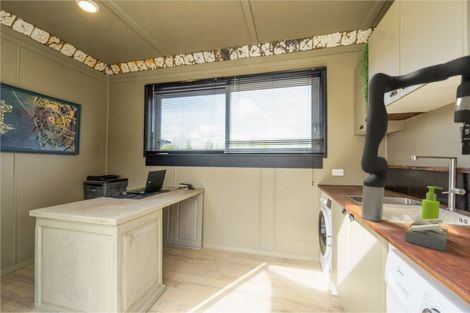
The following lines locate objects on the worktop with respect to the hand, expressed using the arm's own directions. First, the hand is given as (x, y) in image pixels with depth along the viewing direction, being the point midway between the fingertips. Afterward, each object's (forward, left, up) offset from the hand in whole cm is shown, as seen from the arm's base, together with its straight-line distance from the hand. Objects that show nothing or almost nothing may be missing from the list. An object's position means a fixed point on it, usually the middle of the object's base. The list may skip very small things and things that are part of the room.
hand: (465, 154), depth 80 cm
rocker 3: (+3, -14, -29) cm, 32 cm away
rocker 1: (-6, -6, -29) cm, 31 cm away
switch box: (-2, -10, -35) cm, 37 cm away
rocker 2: (-2, -10, -29) cm, 31 cm away
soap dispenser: (-18, +2, -35) cm, 40 cm away
